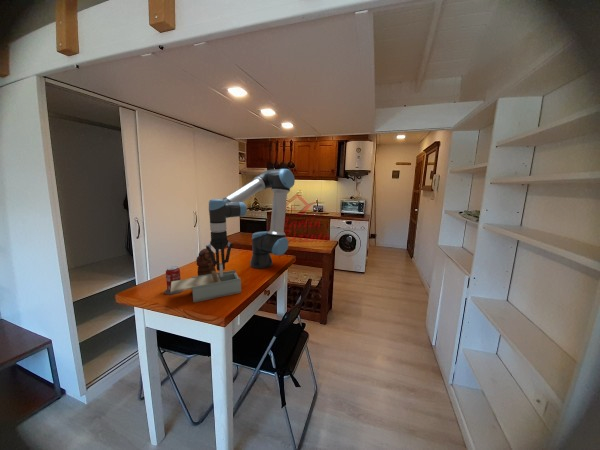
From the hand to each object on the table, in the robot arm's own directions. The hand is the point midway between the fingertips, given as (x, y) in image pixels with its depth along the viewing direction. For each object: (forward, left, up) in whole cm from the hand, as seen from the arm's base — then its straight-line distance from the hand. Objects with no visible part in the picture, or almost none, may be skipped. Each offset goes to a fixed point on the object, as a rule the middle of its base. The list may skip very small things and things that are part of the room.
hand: (221, 275), depth 113 cm
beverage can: (+22, -11, -8) cm, 26 cm away
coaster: (+22, -11, -8) cm, 26 cm away
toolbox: (+3, 0, -8) cm, 8 cm away
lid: (+12, 0, -2) cm, 12 cm away
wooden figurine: (+5, -20, -8) cm, 22 cm away
